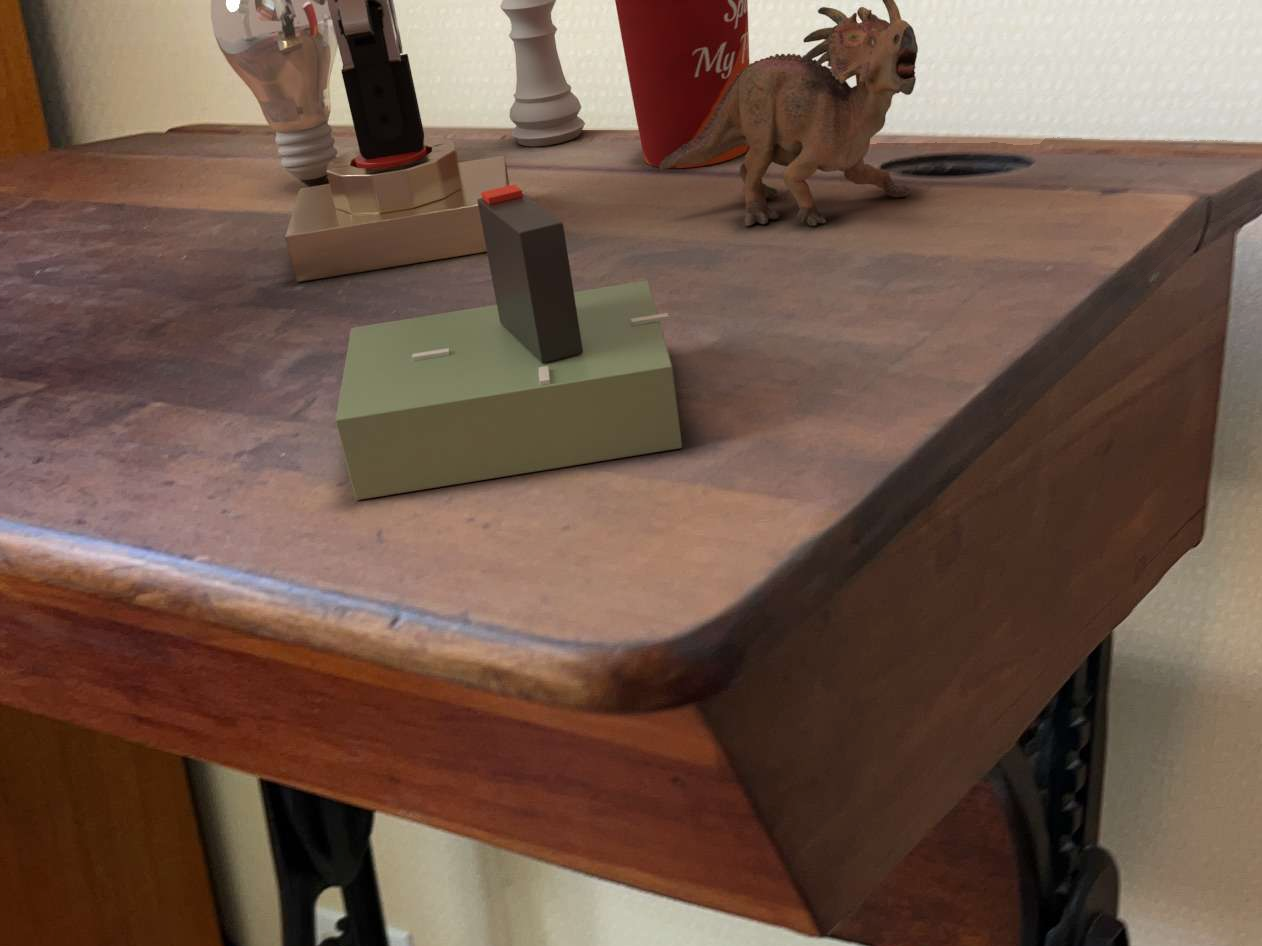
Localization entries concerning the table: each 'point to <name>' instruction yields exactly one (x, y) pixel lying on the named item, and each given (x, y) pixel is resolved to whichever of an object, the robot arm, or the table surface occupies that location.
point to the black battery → (530, 273)
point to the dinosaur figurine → (812, 111)
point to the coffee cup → (681, 67)
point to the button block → (391, 213)
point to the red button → (389, 159)
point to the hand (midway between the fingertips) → (393, 150)
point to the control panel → (503, 396)
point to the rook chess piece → (539, 78)
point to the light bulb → (285, 73)
